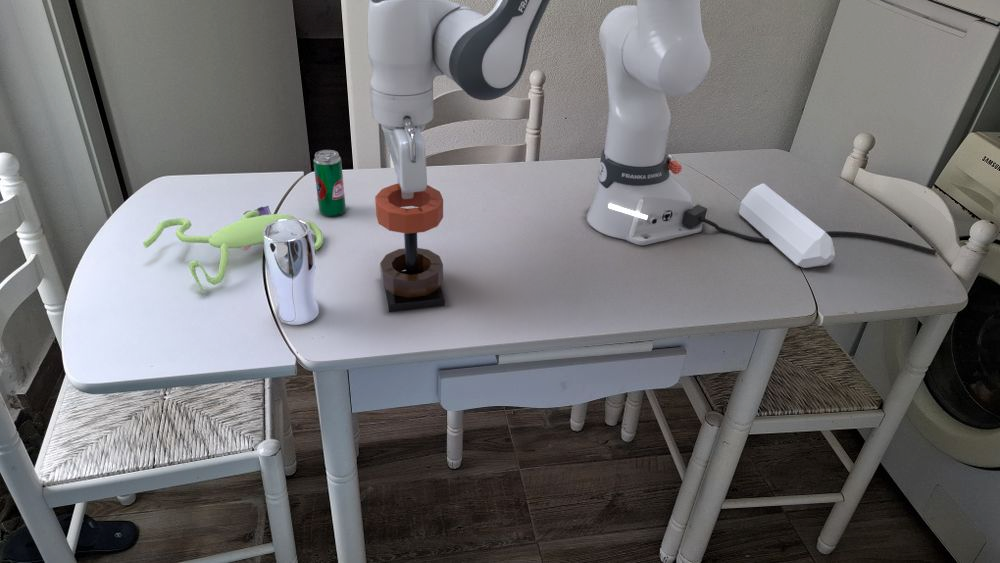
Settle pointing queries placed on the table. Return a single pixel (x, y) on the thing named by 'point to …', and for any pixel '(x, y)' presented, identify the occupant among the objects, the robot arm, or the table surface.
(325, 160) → the soda can
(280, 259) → the chrome cup
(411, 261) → the peg stand
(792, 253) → the crystal
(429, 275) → the walnut ring
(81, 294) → the table surface
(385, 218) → the terracotta ring
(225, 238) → the pale green curved piece
